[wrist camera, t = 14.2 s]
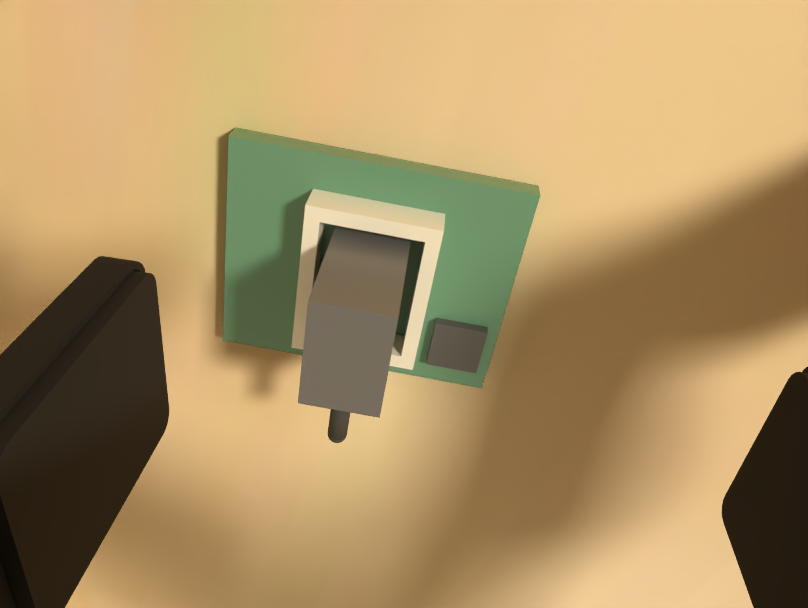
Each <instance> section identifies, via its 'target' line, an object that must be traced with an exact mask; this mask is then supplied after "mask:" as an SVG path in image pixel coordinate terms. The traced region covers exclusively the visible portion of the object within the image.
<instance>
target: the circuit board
mask: <svg viewBox="0 0 808 608" xmlns="http://www.w3.org/2000/svg"><path fill="white" fill-rule="evenodd" d="M539 198H540V192H539V187H538V186H536V185H531V184H526V183H521V182H515V181H510V180H505V179H500V178H495V177H489V176H484V175H479V174H474V173H469V172H463V171H458V170H453V169H448V168H442V167H437V166H432V165H427V164H422V163H416V162H411V161H406V160H401V159H396V158H390V157H385V156H380V155H375V154H370V153H364V152H359V151H354V150H349V149H344V148H338V147H333V146H328V145H323V144H318V143H312V142H307V141H302V140H297V139H292V138H286V137H281V136H276V135H271V134H266V133H260V132H255V131H250V130H245V129H240V128H235V129H234V130H233V131H232V132H231V133H230V134H229V136H228V172H227V209H226V246H225V283H224V321H223V340H225V341H230V342H235V343H241V344H246V345H252V346H257V347H262V348H268V349H273V350H279V351H284V352H289V353H295V354H300V355H303V346H304V336H305V326H306V316H307V306H308V299H309V297H310V294H311V291H312V289H313V286H314V283H315V281H316V278H317V275H318V272H319V270H320V267H321V264H322V262H323V259H324V256H325V254H326V251H327V248H328V245H329V243H330V240H331V237H332V235H333V232H334V229H335V227H336V225H337V226H342V227H347V228H353V229H358V230H363V231H368V232H374V233H379V234H384V235H389V236H395V237H400V238H405V239H411V243H410V249H409V255H408V261H407V268H406V274H405V280H404V286H403V292H402V299H401V305H400V311H399V317H398V323H397V328H396V333H395V338H394V344H393V349H392V354H391V360H390V365H389V370H388V371H392V372H397V373H403V374H408V375H414V376H419V377H424V378H430V379H435V380H441V381H446V382H451V383H457V384H462V385H468V386H473V387H478V388H482V386H483V382H484V379H485V376H486V372H487V369H488V366H489V363H490V359H491V356H492V353H493V349H494V346H495V343H496V339H497V336H498V333H499V330H500V326H501V323H502V320H503V316H504V313H505V310H506V307H507V303H508V300H509V297H510V293H511V290H512V287H513V283H514V280H515V277H516V274H517V270H518V267H519V264H520V260H521V257H522V254H523V250H524V247H525V244H526V241H527V237H528V234H529V231H530V227H531V224H532V221H533V217H534V214H535V211H536V208H537V204H538V201H539Z"/></svg>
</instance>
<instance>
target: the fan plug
mask: <svg viewBox="0 0 808 608" xmlns="http://www.w3.org/2000/svg"><path fill="white" fill-rule="evenodd" d="M410 243H411V239H405V238H400V237H395V236H389V235H384V234H379V233H374V232H368V231H363V230H358V229H353V228H347V227H342V226H337V225H336V227H335V229H334V232H333V235H332V237H331V240H330V243H329V245H328V248H327V251H326V254H325V256H324V259H323V262H322V264H321V267H320V270H319V272H318V275H317V278H316V281H315V283H314V286H313V289H312V291H311V294H310V297H309V299H308V306H307V316H306V326H305V336H304V346H303V356H302V366H301V377H300V387H299V397H298V403H300V404H306V405H311V406H317V407H323V408H328V409H331V412H330V420H329V427H328V437H329V439H330V440H331V441H332V442H334V443H340V442H342V441H343V440H344V439H345V438H346V436H347V430H348V423H349V417H350V412H351V413H356V414H362V415H368V416H373V417H379V418H380V412H381V407H382V402H383V396H384V391H385V386H386V381H387V375H388V370H389V365H390V360H391V354H392V349H393V344H394V338H395V333H396V328H397V323H398V317H399V311H400V305H401V299H402V292H403V286H404V280H405V274H406V268H407V261H408V255H409V249H410Z"/></svg>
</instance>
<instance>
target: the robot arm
mask: <svg viewBox="0 0 808 608" xmlns="http://www.w3.org/2000/svg"><path fill="white" fill-rule="evenodd" d="M168 418H169V403H168V393H167V384H166V374H165V364H164V354H163V345H162V335H161V325H160V315H159V305H158V296H157V286H156V280H155V277H154V275H153V274H151V273H145V269H144V267H143V265H142V264H141V263H140V262H137V261H131V260H124V259H118V258H111V257H104V256H101V257H98V258H96V259H95V260H94V261H93V262H92V263H91V264H90V265H89V266H88V267H87V268H86V269H85V270H84V271H83V272H82V273H81V274H80V275H79V276H78V277H77V278H76V279H75V280H74V281H73V282H72V283H71V284H70V285H69V286H68V287H67V288H66V289H65V290H64V291H63V292H62V293H61V294H60V295H59V296H58V297H57V298H56V299H55V300H54V301H53V302H52V303H51V304H50V305H49V306H48V307H47V308H46V309H45V310H44V311H43V312H42V313H41V314H40V315H39V316H38V317H37V318H36V319H35V320H34V321H33V322H32V323H31V324H30V325H29V326H28V327H27V328H26V329H25V330H24V331H23V332H22V333H21V334H20V335H19V336H18V337H17V338H16V340H15V341H14V342H13V343H12V344H11V345H10V346H9V347H8V348H7V349H6V350H5V351H4V352H3V353H2V354H1V355H0V608H65V606H66V605H67V603H68V601H69V599H70V597H71V596H72V594H73V592H74V590H75V589H76V587H77V585H78V583H79V582H80V580H81V578H82V576H83V575H84V573H85V571H86V569H87V568H88V566H89V564H90V562H91V561H92V559H93V557H94V555H95V553H96V552H97V550H98V548H99V546H100V545H101V543H102V541H103V539H104V538H105V536H106V534H107V532H108V531H109V529H110V527H111V525H112V524H113V522H114V520H115V518H116V517H117V515H118V513H119V511H120V510H121V508H122V506H123V504H124V502H125V501H126V499H127V497H128V495H129V494H130V492H131V490H132V488H133V487H134V485H135V483H136V481H137V480H138V478H139V476H140V474H141V473H142V471H143V469H144V467H145V466H146V464H147V462H148V460H149V458H150V457H151V455H152V453H153V451H154V450H155V448H156V446H157V444H158V443H159V441H160V439H161V437H162V436H163V434H164V432H165V429H166V426H167V423H168ZM722 518H723V522H724V525H725V528H726V531H727V534H728V537H729V539H730V542H731V545H732V548H733V551H734V554H735V556H736V559H737V562H738V565H739V568H740V570H741V573H742V576H743V579H744V582H745V585H746V587H747V590H748V593H749V596H750V599H751V601H752V604H753V607H754V608H808V367H806V368H805V369H804V370H803V372H796V373H794V374H793V375H791V377H790V378H789V379H788V381H787V383H786V385H785V387H784V388H783V390H782V392H781V394H780V396H779V398H778V399H777V401H776V403H775V405H774V407H773V409H772V410H771V412H770V414H769V416H768V418H767V420H766V421H765V423H764V425H763V427H762V429H761V431H760V432H759V434H758V436H757V438H756V440H755V442H754V443H753V445H752V447H751V449H750V451H749V453H748V454H747V456H746V458H745V460H744V462H743V464H742V465H741V467H740V469H739V471H738V473H737V475H736V477H735V478H734V480H733V482H732V484H731V486H730V488H729V489H728V491H727V493H726V495H725V497H724V500H723V504H722Z"/></svg>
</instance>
